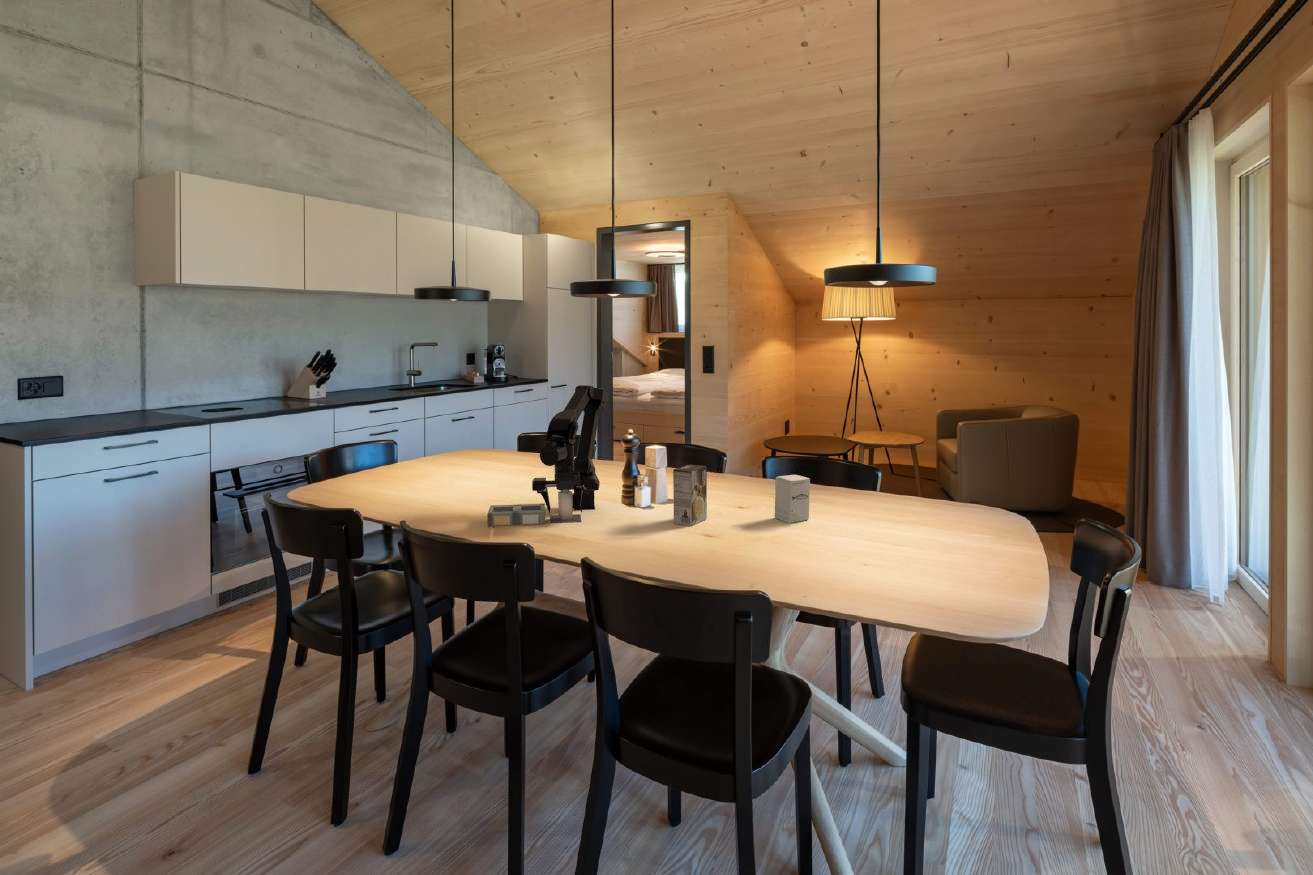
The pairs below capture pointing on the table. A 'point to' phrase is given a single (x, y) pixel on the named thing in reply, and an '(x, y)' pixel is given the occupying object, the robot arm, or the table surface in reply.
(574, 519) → the mat
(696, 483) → the coffee box
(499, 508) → the socket block
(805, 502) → the supplement box
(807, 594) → the table surface
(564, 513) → the beige and green cylinder
